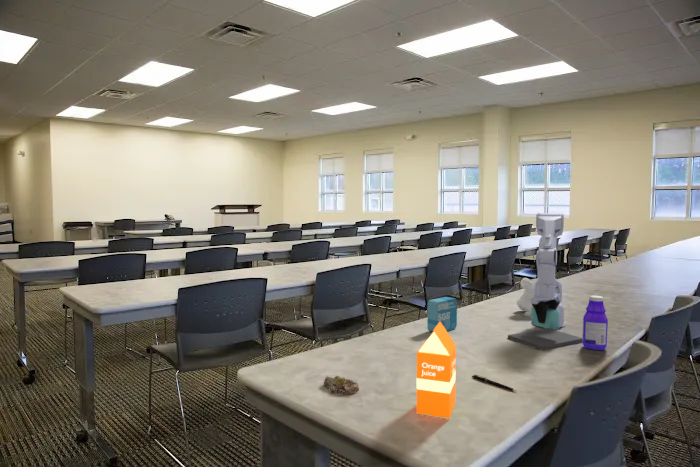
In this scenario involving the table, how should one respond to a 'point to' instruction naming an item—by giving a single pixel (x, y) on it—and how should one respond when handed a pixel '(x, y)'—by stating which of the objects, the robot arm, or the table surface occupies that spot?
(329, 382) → the mineral rock
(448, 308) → the data package
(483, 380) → the fountain pen
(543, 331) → the rubber mat
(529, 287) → the white teddy bear
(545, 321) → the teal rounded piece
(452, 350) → the orange juice
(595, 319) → the bottle
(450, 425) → the table surface
